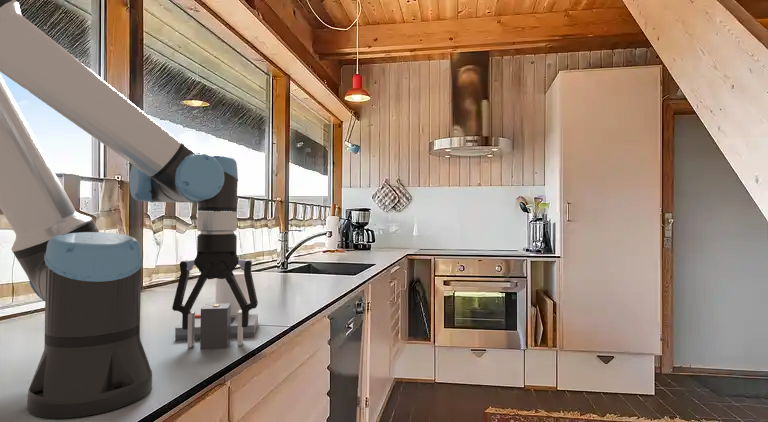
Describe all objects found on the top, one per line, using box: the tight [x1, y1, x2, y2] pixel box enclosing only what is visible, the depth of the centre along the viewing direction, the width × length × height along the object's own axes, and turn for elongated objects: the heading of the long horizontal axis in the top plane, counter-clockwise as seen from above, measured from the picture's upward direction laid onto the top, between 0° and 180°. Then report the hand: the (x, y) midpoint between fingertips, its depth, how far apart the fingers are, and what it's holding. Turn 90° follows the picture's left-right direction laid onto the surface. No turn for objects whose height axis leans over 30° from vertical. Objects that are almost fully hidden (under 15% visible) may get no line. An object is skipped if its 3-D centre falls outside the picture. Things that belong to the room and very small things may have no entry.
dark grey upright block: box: [199, 303, 231, 351], centre depth 92 cm, size 5×5×8 cm
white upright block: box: [214, 270, 251, 315], centre depth 113 cm, size 8×8×12 cm
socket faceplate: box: [174, 313, 259, 341], centre depth 102 cm, size 11×16×3 cm
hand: (215, 344), depth 92 cm, fingers open, 9 cm apart
